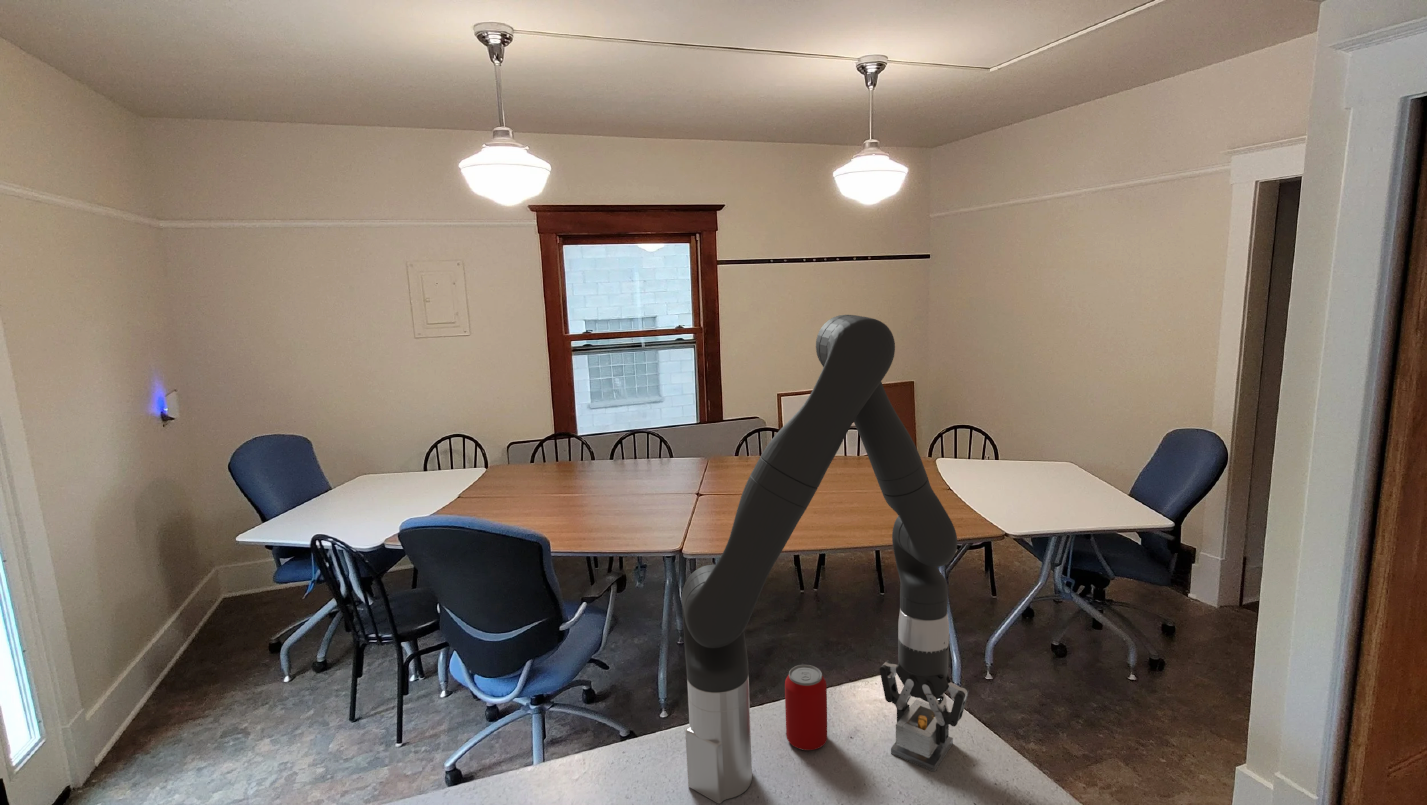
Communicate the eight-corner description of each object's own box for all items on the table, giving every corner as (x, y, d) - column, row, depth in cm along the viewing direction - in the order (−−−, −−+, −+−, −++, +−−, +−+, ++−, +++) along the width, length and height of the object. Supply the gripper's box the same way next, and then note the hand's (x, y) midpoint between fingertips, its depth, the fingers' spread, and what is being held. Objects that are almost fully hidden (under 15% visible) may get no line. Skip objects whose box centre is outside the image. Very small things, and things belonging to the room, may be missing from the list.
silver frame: (929, 758, 102) (929, 737, 102) (895, 744, 105) (895, 724, 105) (948, 730, 108) (948, 711, 108) (915, 718, 112) (915, 699, 111)
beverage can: (826, 727, 113) (825, 662, 111) (829, 755, 107) (827, 686, 105) (786, 726, 114) (784, 662, 112) (786, 753, 107) (784, 685, 105)
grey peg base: (934, 772, 102) (934, 740, 101) (891, 753, 106) (891, 722, 105) (952, 743, 108) (953, 713, 107) (911, 727, 112) (911, 698, 111)
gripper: (869, 633, 106) (870, 730, 108) (961, 662, 97) (959, 767, 99) (890, 615, 111) (889, 707, 114) (978, 640, 102) (975, 740, 105)
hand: (922, 734), depth 107 cm, fingers closed on silver frame, 5 cm apart
